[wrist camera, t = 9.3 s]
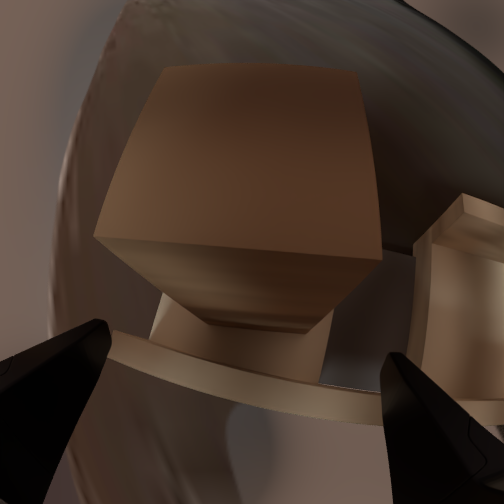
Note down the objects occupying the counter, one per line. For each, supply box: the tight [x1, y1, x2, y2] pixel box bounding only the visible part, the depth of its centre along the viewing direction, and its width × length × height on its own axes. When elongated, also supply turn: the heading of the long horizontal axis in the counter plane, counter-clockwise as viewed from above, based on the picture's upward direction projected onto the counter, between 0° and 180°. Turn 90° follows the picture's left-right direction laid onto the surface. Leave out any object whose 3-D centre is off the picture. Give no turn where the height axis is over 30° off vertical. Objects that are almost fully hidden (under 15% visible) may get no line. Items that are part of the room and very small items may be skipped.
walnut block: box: [93, 63, 382, 334], centre depth 11 cm, size 5×5×11 cm
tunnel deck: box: [107, 193, 504, 426], centre depth 14 cm, size 24×11×7 cm, turn 76°
